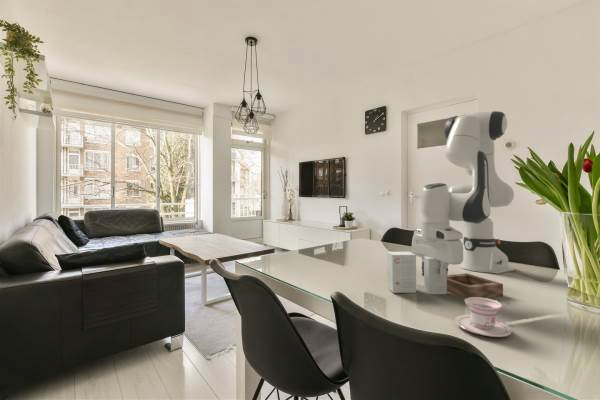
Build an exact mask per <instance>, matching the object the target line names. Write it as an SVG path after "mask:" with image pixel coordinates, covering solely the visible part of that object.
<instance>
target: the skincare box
mask: <svg viewBox="0 0 600 400" xmlns="http://www.w3.org/2000/svg"><path fill="white" fill-rule="evenodd" d="M439 268H441V264H440V261H438V260H435V259H433V258H430V257H424V276H423V285H424V286H423V288H424V289H423V291H424V292H425V293H427V294H428V295H448V293H447V275H448V274H447V269H446V274H445V275H441V274H439V273H438V269H439Z"/></svg>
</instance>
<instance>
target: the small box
mask: <svg viewBox="0 0 600 400" xmlns="http://www.w3.org/2000/svg"><path fill="white" fill-rule="evenodd" d="M387 288H388V289H389V290H390V291H391V292H392V293H393V294H394V293H395V294H396V293H397V294H399V293H401V294H402V293H403V294H404V293H405V294H406V293H407V294H414V293H415V294H416V293H417V254H414V253H413V252H412V251H387Z"/></svg>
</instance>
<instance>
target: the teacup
mask: <svg viewBox="0 0 600 400" xmlns="http://www.w3.org/2000/svg"><path fill="white" fill-rule="evenodd" d="M464 302H465V305H466V306H467V308H468V310H469V311H470V313H469V314H462V315H458V316H456V317H455V319H454V321H455V324H456V325H457V326H458V327H459V328H461V329H463V330H466V331H468V332H470V333H473V334H476V335H481V336H487V337H492V338H493V337H495V338H496V337H497V338H499V337H500V338H502V337H509V336H510V335H511V334H512V332H513V331H512V329H511V327H510V326H508V324H506V323H505V322H502V321H501V320H499V319H498V320H497V319H496V316H497V315H498V314H499V313H498V312H500V311H501V309H502V308H503V305H502V303H501V302H500V301H497V300H494V299H491V298H481V297H470V298H466V299H465V298H464ZM472 324H474V326H473V325H472Z"/></svg>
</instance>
